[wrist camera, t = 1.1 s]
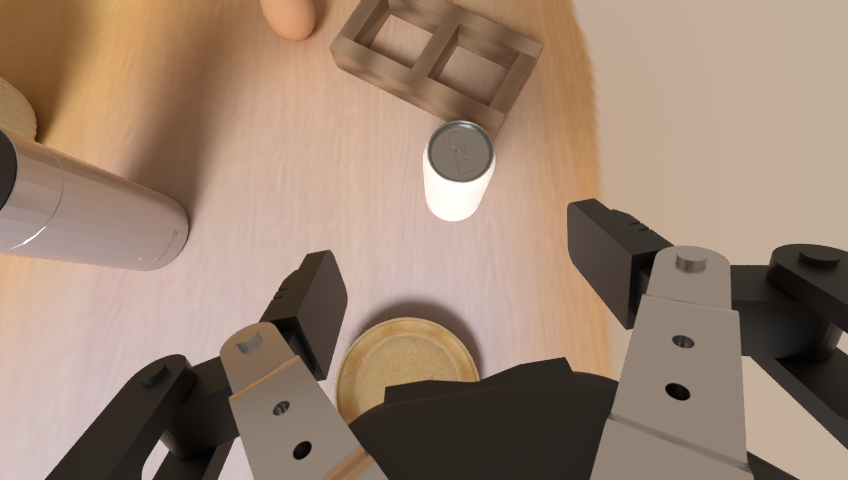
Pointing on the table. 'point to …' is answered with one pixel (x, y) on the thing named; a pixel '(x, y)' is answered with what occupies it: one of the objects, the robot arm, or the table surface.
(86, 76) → the table surface
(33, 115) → the canister
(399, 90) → the rack
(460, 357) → the plant saucer
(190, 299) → the table surface
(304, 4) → the egg
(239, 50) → the table surface
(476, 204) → the can
